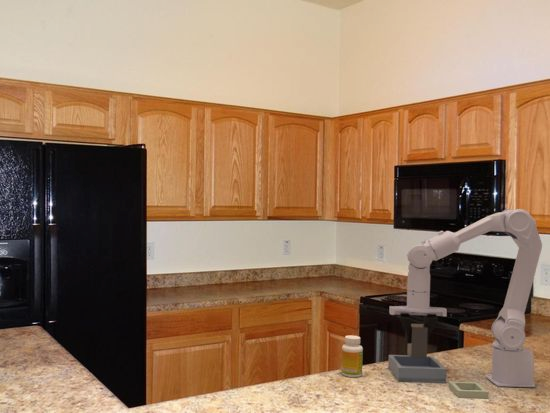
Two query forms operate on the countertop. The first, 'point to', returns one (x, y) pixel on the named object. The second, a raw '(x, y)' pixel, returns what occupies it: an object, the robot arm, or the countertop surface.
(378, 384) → the countertop surface
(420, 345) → the dark wooden post
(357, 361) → the supplement bottle
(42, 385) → the countertop surface
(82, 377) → the countertop surface
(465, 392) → the holder
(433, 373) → the tray
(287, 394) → the countertop surface
